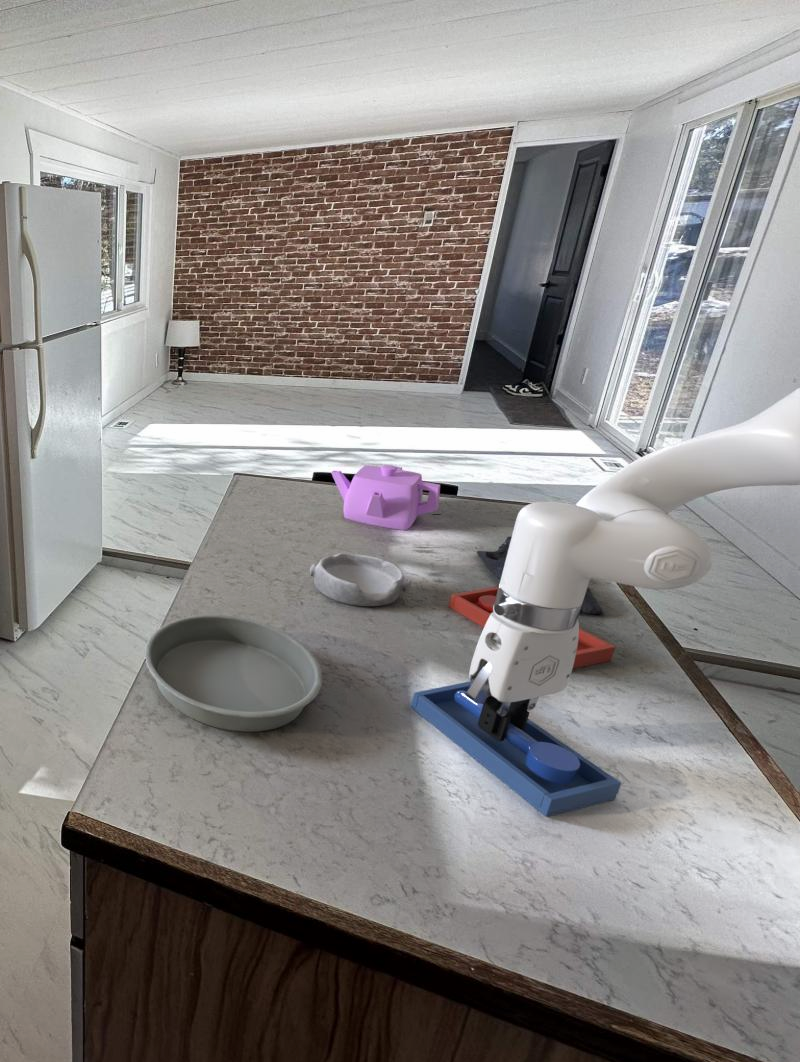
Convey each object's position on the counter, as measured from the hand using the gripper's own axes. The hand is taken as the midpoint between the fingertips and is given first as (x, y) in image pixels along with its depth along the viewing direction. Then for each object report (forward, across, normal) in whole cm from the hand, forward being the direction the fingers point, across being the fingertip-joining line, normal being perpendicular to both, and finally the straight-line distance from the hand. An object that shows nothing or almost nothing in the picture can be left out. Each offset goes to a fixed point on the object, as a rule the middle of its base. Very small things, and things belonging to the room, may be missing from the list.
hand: (499, 730), depth 81 cm
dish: (+2, +10, +38) cm, 39 cm away
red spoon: (+1, +26, +19) cm, 32 cm away
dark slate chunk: (+2, +42, +31) cm, 52 cm away
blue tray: (+2, 0, -1) cm, 2 cm away
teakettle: (+2, +38, +65) cm, 75 cm away
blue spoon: (0, 0, -1) cm, 1 cm away
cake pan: (+2, -26, +20) cm, 33 cm away
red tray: (+2, +26, +19) cm, 32 cm away
